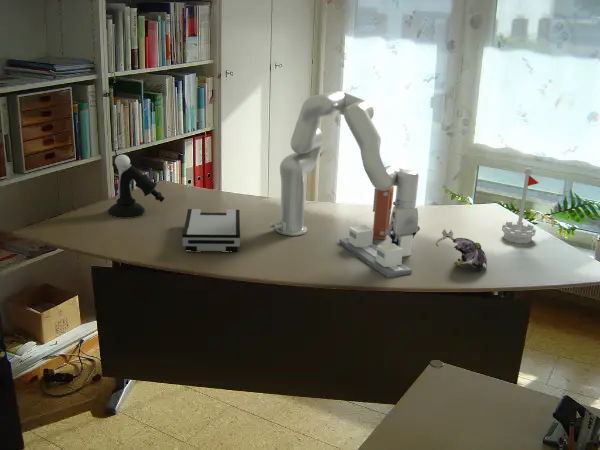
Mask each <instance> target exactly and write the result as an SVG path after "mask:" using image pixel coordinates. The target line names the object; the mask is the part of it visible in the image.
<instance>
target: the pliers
mask: <svg viewBox="0 0 600 450" xmlns="http://www.w3.org/2000/svg"><path fill="white" fill-rule="evenodd" d="M441 233H442V235H443V236H442V237H441V238H439V239H437V240H436V242H435V243H436V246H437V247H439V242H441V241H443V240H445V239H447V238H449V239H450V238H451V239H450V240H452V241H453V239H455V238H454V237H453V235H454V232H453V230H452V229H450V231H449V232H447V231H446V229H445V228H443V231H442V232H441ZM442 239H443V240H442ZM440 240H441V241H440ZM458 244H460V243H457V245H458Z"/></svg>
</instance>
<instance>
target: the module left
mask: <svg viewBox="0 0 600 450" xmlns="http://www.w3.org/2000/svg"><path fill="white" fill-rule="evenodd" d="M348 231H349V232H348V238H349V243H351V244H352V245H354V246H355V247H363V246H370V245H372V243H373V241H374V240H373V239H374V238H373V228H370V227H369V226H367V225H358V226H350V227H349V230H348Z"/></svg>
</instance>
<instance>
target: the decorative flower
mask: <svg viewBox="0 0 600 450" xmlns="http://www.w3.org/2000/svg"><path fill="white" fill-rule="evenodd" d="M452 243H454V244H456V245H455V246H454V247H453V249H455V250H456V251H458V252H459V253H461V256H460V258H457V261H455V262H453V264H454V267H455V268H458V265H459V267H463V263H465V262H466V263H467V262H469V261H471V260H472V263H471V266H473V267H475V269H478V268H479V272H480V273H481V270H482V267H483V265H485V267H486V270H487V268H488V267H487V266H488V259H487V255H486V253H485V251H484V250H483V249H482V245H481V243H479V242H475V241H473V240H472V239H469V238H466V237H456V238H454V239H453V240H452ZM458 243H460V244H458Z"/></svg>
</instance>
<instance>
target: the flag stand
mask: <svg viewBox="0 0 600 450" xmlns="http://www.w3.org/2000/svg"><path fill="white" fill-rule="evenodd" d="M523 171H524V172H523V173H524V174H525V177H524V183H523V189H522V196H521V203H520V209H519V214H518V219H517V221H516V223H513V221H512V220H509V221H506V222H505V223H504V222H503V223H502V226H501V231H502V232H503V239H504V240H506V241H508V242H510V243H514V242H515V243H514V244H521V243H525V244H529V243H528V242H530V241H531V242H532V239H533V237H534V236H535V235H536V231H537V227H534V225H533V224H531V223H527V225H525V224H524V222H523V218H524V212H525V205H526V199H527V194H528V187H529V186H534V185H537V184H539V181H537V180H536V179H535V178H533V177H532V176H531V175H532V173H533V169H532V168H531V167H526V168H524V170H523ZM531 242H530V243H531Z"/></svg>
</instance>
